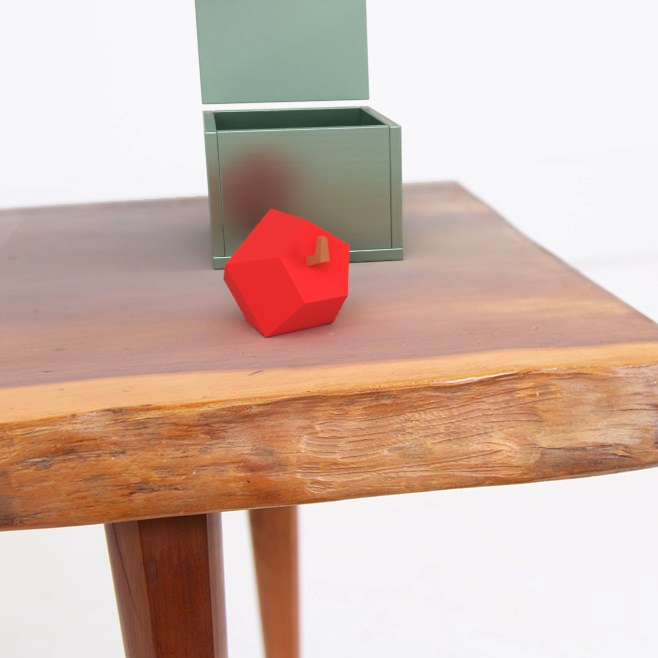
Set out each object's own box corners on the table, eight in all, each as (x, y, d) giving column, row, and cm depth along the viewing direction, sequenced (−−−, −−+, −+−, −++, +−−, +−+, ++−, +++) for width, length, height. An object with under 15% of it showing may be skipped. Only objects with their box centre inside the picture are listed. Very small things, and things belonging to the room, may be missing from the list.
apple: (191, 220, 61) (260, 182, 54) (299, 229, 65) (376, 195, 58) (198, 346, 60) (268, 324, 54) (307, 347, 64) (385, 326, 58)
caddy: (403, 259, 75) (401, 125, 72) (213, 269, 73) (204, 131, 70) (371, 220, 89) (368, 105, 86) (210, 227, 87) (202, 110, 84)
